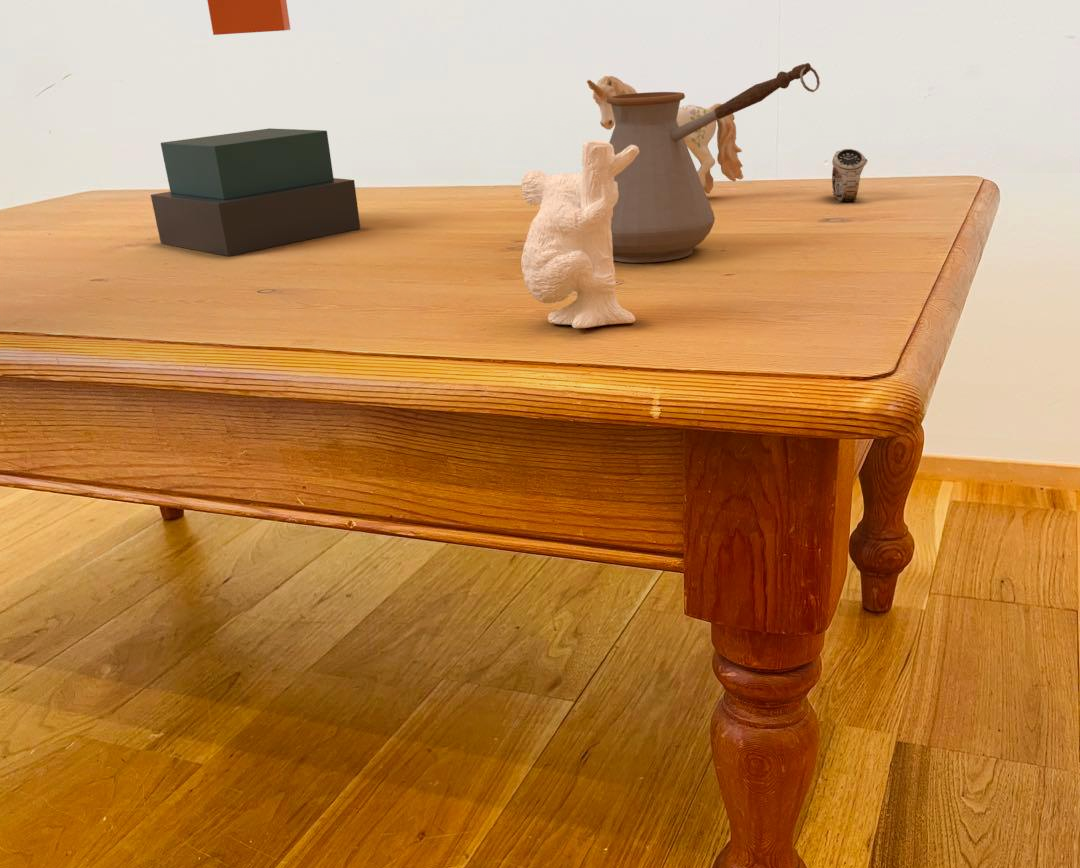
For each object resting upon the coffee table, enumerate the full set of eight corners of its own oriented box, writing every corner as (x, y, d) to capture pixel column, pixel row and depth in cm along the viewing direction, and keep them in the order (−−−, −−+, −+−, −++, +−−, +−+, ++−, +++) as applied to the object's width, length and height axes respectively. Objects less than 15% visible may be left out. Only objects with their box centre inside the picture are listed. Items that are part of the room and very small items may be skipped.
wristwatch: (834, 204, 110) (837, 153, 108) (822, 195, 116) (824, 146, 114) (868, 202, 110) (872, 151, 108) (855, 193, 116) (858, 144, 114)
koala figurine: (663, 317, 74) (660, 133, 69) (610, 343, 69) (603, 146, 64) (562, 306, 79) (553, 132, 74) (507, 329, 74) (492, 145, 69)
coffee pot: (555, 260, 94) (545, 73, 87) (637, 236, 101) (634, 62, 95) (765, 287, 80) (772, 69, 74) (843, 258, 88) (855, 57, 81)
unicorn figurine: (560, 212, 116) (553, 78, 110) (710, 190, 124) (711, 63, 118) (593, 220, 110) (587, 79, 105) (748, 197, 118) (751, 64, 112)
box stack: (228, 256, 105) (208, 148, 101) (160, 243, 114) (139, 144, 110) (360, 228, 115) (347, 129, 111) (288, 218, 124) (273, 126, 120)
